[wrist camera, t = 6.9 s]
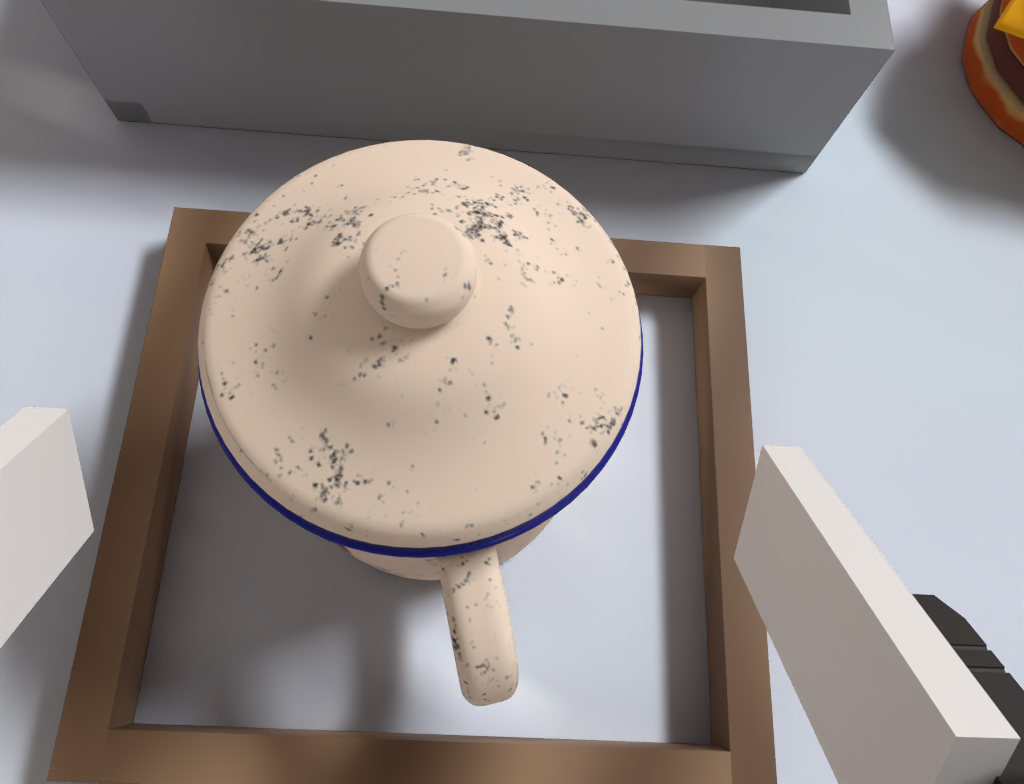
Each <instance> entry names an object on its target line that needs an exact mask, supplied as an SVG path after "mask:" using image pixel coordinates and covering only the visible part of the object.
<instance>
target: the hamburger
mask: <svg viewBox="0 0 1024 784" xmlns="http://www.w3.org/2000/svg"><path fill="white" fill-rule="evenodd" d="M962 61H963V65H964V68H965V72H966V75H967V79H968V82H969V86H970V89H971V92H972V93H973V95H974V96H975V97H976V99H977V100H978V101H979V103H980V104H981V105H982V107H983V108H984V109H985V110H986V112H987V113H988V114H989V116H990V117H991V118H992V120H993V121H994V122H995V124H996V125H997V126H998V127H999V128H1000V129H1002V130H1003V131H1004V132H1006V133H1007V134H1009V135H1010V136H1011V137H1013V138H1014V139H1016V140H1017V141H1018V142H1020V143H1021V144H1023V145H1024V0H988V1H987V2H986V3H985V4H984V5H983V6H982V7H981V8H980V10H979V11H978V12H977V13H976V14H975V15H974V17H973V18H972V19H971V20H970V23H969V26H968V31H967V35H966V40H965V45H964V50H963V54H962Z"/></svg>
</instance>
